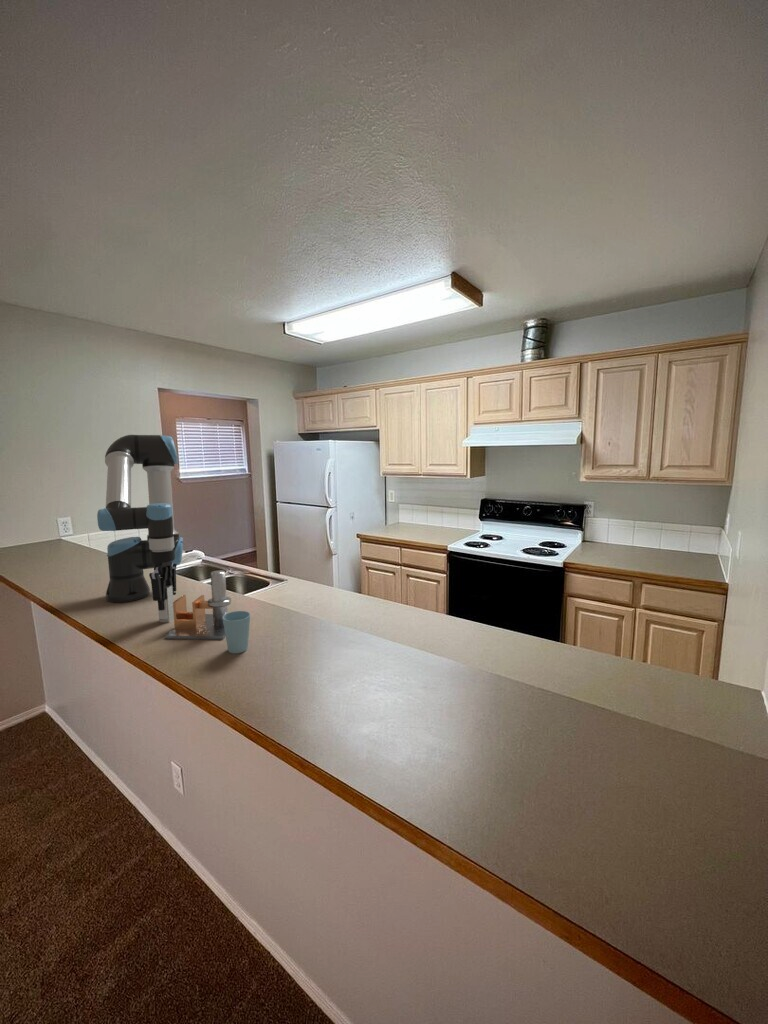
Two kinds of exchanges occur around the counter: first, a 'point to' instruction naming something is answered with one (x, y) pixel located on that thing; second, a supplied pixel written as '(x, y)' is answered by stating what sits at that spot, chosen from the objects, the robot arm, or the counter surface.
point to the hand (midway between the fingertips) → (166, 615)
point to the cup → (237, 630)
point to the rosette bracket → (202, 613)
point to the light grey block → (169, 604)
